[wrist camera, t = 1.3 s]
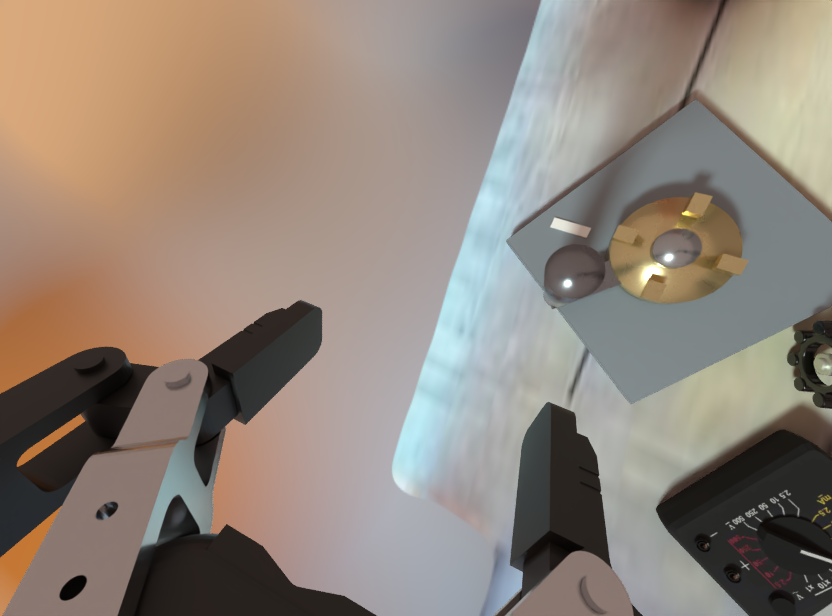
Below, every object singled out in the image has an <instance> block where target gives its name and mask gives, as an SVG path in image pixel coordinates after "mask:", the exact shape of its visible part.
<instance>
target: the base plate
mask: <svg viewBox="0 0 832 616" xmlns="http://www.w3.org/2000/svg"><path fill="white" fill-rule="evenodd" d="M695 192H696V193H701V194H705V195H710V196H713V197H712V199H711V201H710V203H711V204H714V205H716V206H717V207H719V208H721V209H722V210H723V211H725V212H726V213H727V214H728V215H729V216H730V217H731V218H732V219H733V220H734V222H735V223H736V225H737V226H738V228H739V231H740V233H741V237H742V243H743V251H742V257H741V258H742V259H745V260H749V261H748V263H747V265H746V267H745V269H744V270H743V272H742V274H741V275H739V276H732V277H731V278H730V279H729V280H728V281H727V282H726V283H725V284H724V285H723V286H722V287H720V288H719V289H718V290H716V291H715V292H713V293H711V294H709V295H707V296H705V297H702V298H700V299H697V300H693V301H689V302H682V303H672V304H656V303H650V302H646V301H642V300H639V299H637V298H635V297H633V296H631V295H629V294H627V293H626V292H625V291H623V290H622V289H621V288H620V287H619V286H615V287H612V288H609V289H607V290H604V291H601V292H598V293H596V294H593V295H590V296H587V297H585V298H582V299H579V300H576V301H574V302H572V303H570V304H567V305H565V306H563V307H557V309H558V311H559V312H560V313H561V315H562V316H563V317H564V319H565V320H566V321H567V322H568V324H569V325H570V326H571V328H572V329H573V330H574V332H575V333H576V334H577V336H578V337H579V338H580V340H581V341H582V342H583V343H584V345H585V346H586V347H587V349H588V350H589V351H590V353H591V354H592V355H593V357H594V358H595V359H596V361H597V362H598V363H599V364H600V366H601V367H602V368H603V370H604V371H605V372H606V374H607V375H608V376H609V378H610V379H611V380H612V381H613V383H614V384H615V385H616V387H617V388H618V389H619V391H620V392H621V393H622V395H623V396H624V397H625V399H626V400H627V401H628V402H629V403H630V404H632V403H635V402H637V401H639V400H641V399H643V398H645V397H647V396H649V395H651V394H653V393H655V392H657V391H659V390H661V389H663V388H665V387H667V386H669V385H671V384H673V383H675V382H678V381H680V380H682V379H684V378H686V377H688V376H690V375H692V374H694V373H696V372H698V371H700V370H702V369H704V368H706V367H708V366H710V365H712V364H714V363H716V362H719V361H721V360H723V359H725V358H727V357H729V356H731V355H733V354H735V353H737V352H739V351H741V350H743V349H745V348H747V347H749V346H751V345H753V344H755V343H757V342H759V341H762V340H764V339H766V338H768V337H770V336H772V335H774V334H776V333H778V332H780V331H782V330H784V329H786V328H788V327H790V326H792V325H794V324H796V323H798V322H800V321H803V320H805V319H807V318H809V317H811V316H813V315H815V314H817V313H819V312H821V311H823V310H825V309H827V308H829V307H831V306H832V221H831V220H829V219H828V218H827V217H826V216H825V215H824V214H823V213H822V212H821V211H820V210H818V209H817V208H816V207H815V206H814V205H813V204H812V203H811V202H810V201H808V200H807V199H806V198H805V197H804V196H803V195H802V194H801V193H800V192H799V191H797V190H796V189H795V188H794V187H793V186H792V185H791V184H790V183H789V182H787V181H786V180H785V179H784V178H783V177H782V176H781V175H780V174H779V173H778V172H776V171H775V170H774V169H773V168H772V167H771V166H770V165H769V164H768V163H766V162H765V161H764V160H763V159H762V158H761V157H760V156H759V155H758V154H757V153H755V152H754V151H753V150H752V149H751V148H750V147H749V146H748V145H747V144H745V143H744V142H743V141H742V140H741V139H740V138H739V137H738V136H737V135H736V134H734V133H733V132H732V131H731V130H730V129H729V128H728V127H727V126H726V125H724V124H723V123H722V122H721V121H720V120H719V119H718V118H717V117H716V116H715V115H713V114H712V113H711V112H710V111H709V110H708V109H707V108H706V107H705V106H703V105H702V104H701V103H700V102H699V101H698V100H697V99H695V100H694V101H692V102H691V103H690V104H688V105H687V106H686V107H684V108H683V109H682V110H680V111H679V112H678V113H676V114H675V115H674V116H672V117H671V118H670V119H668V120H667V121H666V122H664V123H663V124H662V125H660V126H659V127H658V128H656V129H655V130H653V131H652V132H651V133H649V134H648V135H647V136H645V137H644V138H643V139H641V140H640V141H639V142H637V143H636V144H635V145H633V146H632V147H631V148H629V149H628V150H627V151H625V152H624V153H623V154H621V155H620V156H619V157H617V158H616V159H615V160H613V161H612V162H611V163H609V164H608V165H607V166H605V167H604V168H603V169H601V170H600V171H598V172H597V173H596V174H594V175H593V176H592V177H590V178H589V179H588V180H586V181H585V182H584V183H582V184H581V185H580V186H578V187H577V188H576V189H574V190H573V191H572V192H570V193H569V194H568V195H566V196H565V197H564V198H562V199H561V200H560V201H558V202H557V203H556V204H554V205H553V206H552V207H550V208H549V209H548V210H546V211H545V212H543V213H542V214H541V215H539V216H538V217H537V218H535V219H534V220H533V221H531V222H530V223H529V224H527V225H526V226H525V227H523V228H522V229H521V230H519V231H518V232H517V233H515V234H514V235H513V236H511V237H510V238H509V239H507V240H506V242H507V244H508V245H509V246H510V248H511V249H512V250H513V252H514V253H515V254H516V256H517V257H518V258H519V260H520V261H521V262H522V263H523V265H524V266H525V267H526V269H527V270H528V271H529V273H530V274H531V275H532V277H533V278H534V279H535V281H536V282H537V283H538V284H539V286H540V287H541V288H542V290H543V291H544V289H543V286H544V271H545V265H546V262H547V260H548V259H549V257H550V256H551V255H552V254H553V253H554V252H555V251H556V250H558V249H559V248H561V247H564V246H566V245H571V244H582V245H586V246H589V247H591V248H593V249H594V250H596V251H597V252H598V253H599V254H600V255H601V257H602V259H603V261H604V262H606V261H607V249H608V245H609V243H610V240H611V238H612V236H613V234H614V232H615V230H616V228H617V227H618V225H621V224H622V223H623V222H624V221H625V220H626V219H627V218H628V217H629V216H630V215H631V214H632V213H634V212H635V211H636V210H638V209H640V208H641V207H643V206H645V205H647V204H650V203H652V202H655V201H658V200H662V199H667V198H675V197H687V198H690V197H691V195H693V194H694V193H695Z"/></svg>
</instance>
